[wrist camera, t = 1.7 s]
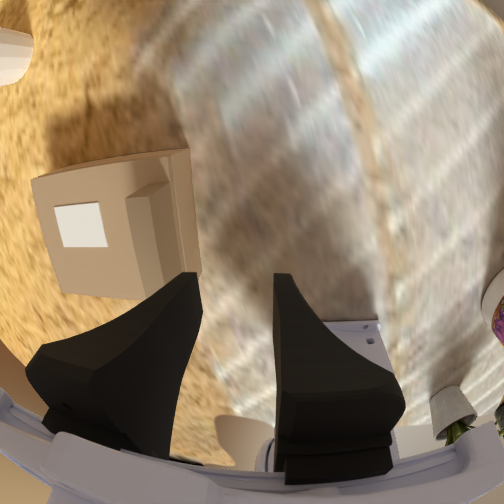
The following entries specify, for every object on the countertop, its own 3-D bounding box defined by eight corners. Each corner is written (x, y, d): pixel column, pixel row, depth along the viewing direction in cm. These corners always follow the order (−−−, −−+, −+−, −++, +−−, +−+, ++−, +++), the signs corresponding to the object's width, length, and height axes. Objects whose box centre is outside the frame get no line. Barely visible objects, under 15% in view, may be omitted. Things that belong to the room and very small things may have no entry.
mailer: (189, 147, 19) (172, 154, 16) (202, 271, 23) (191, 296, 20) (64, 166, 20) (37, 176, 17) (87, 267, 24) (67, 287, 21)
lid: (170, 155, 15) (145, 166, 12) (190, 298, 20) (175, 332, 17) (35, 177, 16) (3, 191, 13) (65, 288, 21) (43, 312, 18)
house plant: (453, 416, 34) (475, 489, 19) (389, 430, 35) (404, 516, 20) (494, 362, 27) (534, 445, 13) (428, 376, 28) (464, 484, 14)
